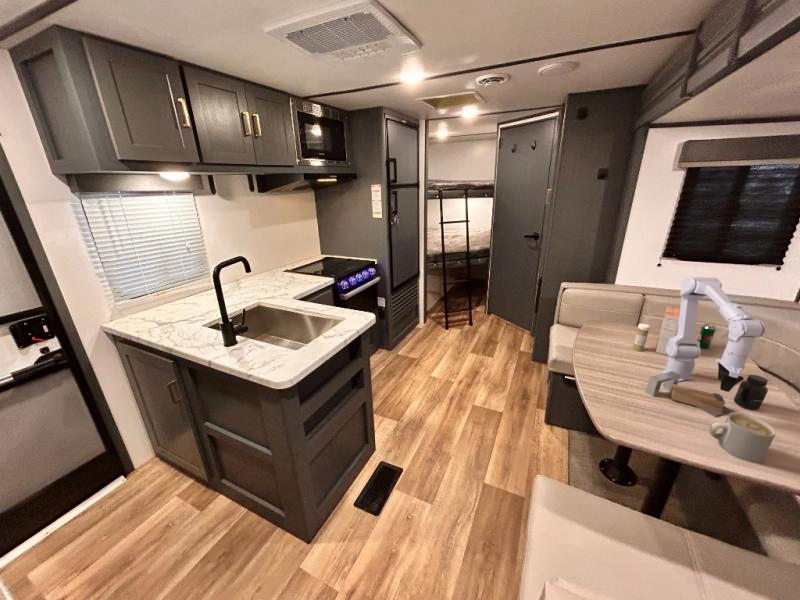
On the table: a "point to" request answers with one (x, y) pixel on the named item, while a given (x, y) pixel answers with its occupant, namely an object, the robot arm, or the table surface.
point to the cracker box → (668, 329)
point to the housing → (656, 382)
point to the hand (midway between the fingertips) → (723, 385)
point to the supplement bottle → (751, 392)
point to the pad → (715, 413)
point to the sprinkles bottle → (641, 337)
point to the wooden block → (697, 398)
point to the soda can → (706, 335)
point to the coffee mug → (744, 436)
